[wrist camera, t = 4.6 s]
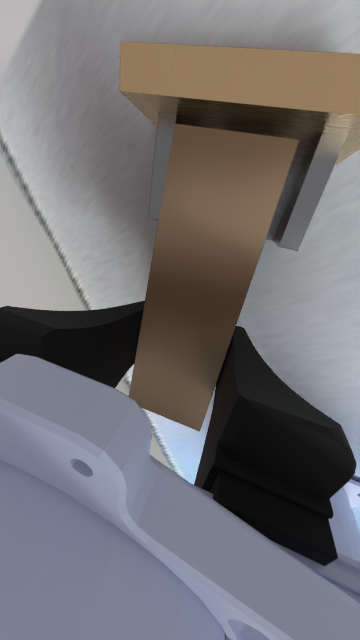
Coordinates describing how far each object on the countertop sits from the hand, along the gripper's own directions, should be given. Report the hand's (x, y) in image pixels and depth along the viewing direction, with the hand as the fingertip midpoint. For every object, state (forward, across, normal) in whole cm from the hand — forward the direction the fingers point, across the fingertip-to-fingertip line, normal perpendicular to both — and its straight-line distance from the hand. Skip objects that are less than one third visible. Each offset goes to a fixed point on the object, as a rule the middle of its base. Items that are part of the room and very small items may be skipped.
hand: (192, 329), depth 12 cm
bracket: (+5, 0, -8) cm, 9 cm away
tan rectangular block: (+3, 0, -2) cm, 3 cm away
